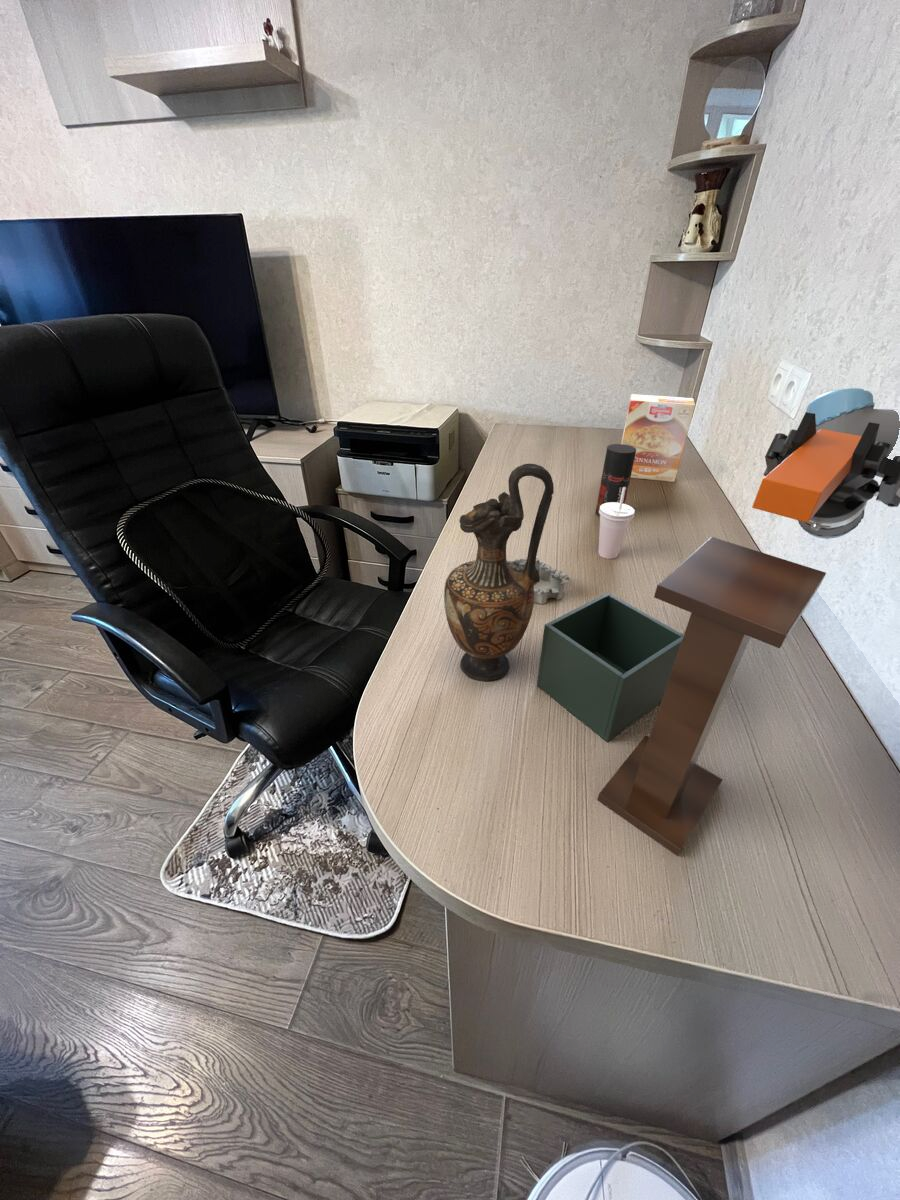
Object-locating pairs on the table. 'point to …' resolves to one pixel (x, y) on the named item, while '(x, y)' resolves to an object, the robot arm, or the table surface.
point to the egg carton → (546, 581)
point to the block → (807, 476)
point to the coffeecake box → (657, 434)
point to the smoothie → (613, 526)
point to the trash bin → (607, 663)
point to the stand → (704, 679)
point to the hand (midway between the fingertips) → (833, 433)
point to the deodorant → (616, 474)
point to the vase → (495, 581)
